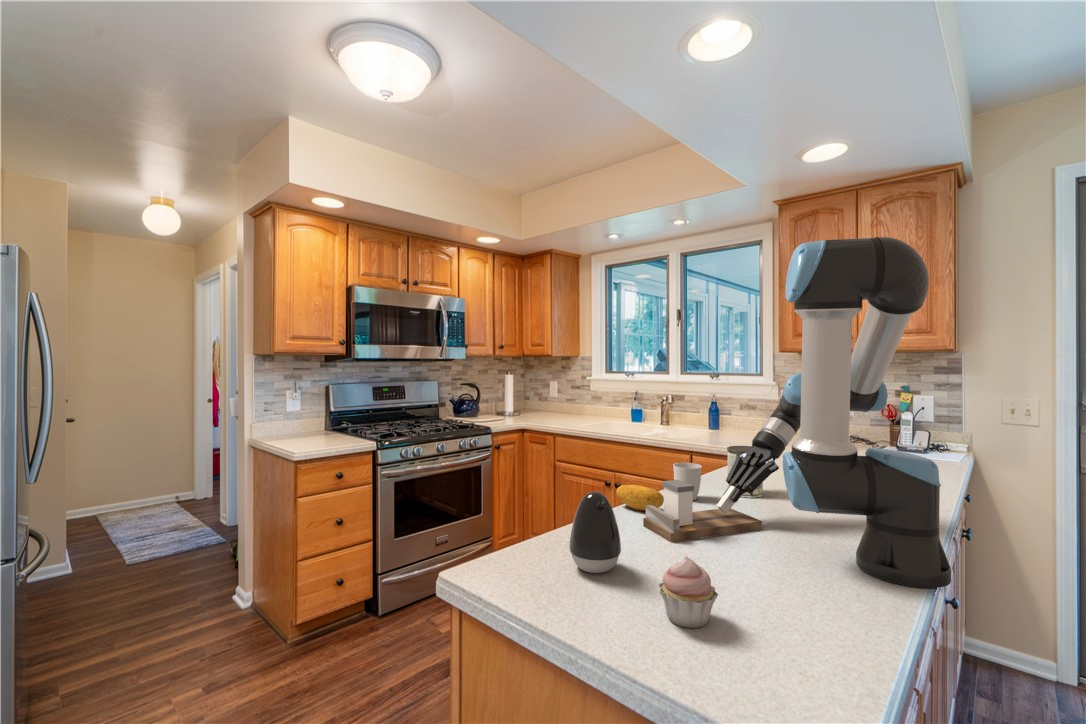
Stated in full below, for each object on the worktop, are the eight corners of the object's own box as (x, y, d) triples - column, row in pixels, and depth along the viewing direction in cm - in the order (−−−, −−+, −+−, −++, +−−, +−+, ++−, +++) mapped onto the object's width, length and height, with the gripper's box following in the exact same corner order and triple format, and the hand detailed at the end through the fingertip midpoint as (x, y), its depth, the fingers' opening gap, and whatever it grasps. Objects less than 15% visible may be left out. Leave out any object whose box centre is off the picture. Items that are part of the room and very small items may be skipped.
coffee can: (730, 488, 163) (730, 444, 163) (765, 492, 158) (765, 447, 158) (723, 495, 154) (723, 449, 154) (759, 500, 149) (759, 452, 149)
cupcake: (681, 599, 87) (681, 541, 87) (729, 621, 80) (729, 558, 80) (644, 615, 82) (644, 554, 82) (693, 641, 74) (692, 573, 74)
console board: (728, 515, 135) (728, 496, 135) (762, 529, 123) (762, 508, 123) (643, 525, 126) (643, 505, 126) (670, 542, 115) (670, 520, 115)
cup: (698, 495, 154) (698, 462, 154) (704, 503, 146) (704, 468, 146) (671, 495, 155) (671, 462, 155) (675, 502, 147) (675, 468, 147)
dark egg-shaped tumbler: (579, 582, 94) (579, 501, 94) (563, 561, 104) (562, 487, 104) (630, 576, 97) (630, 496, 97) (608, 555, 107) (608, 484, 107)
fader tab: (678, 516, 126) (678, 479, 126) (694, 524, 120) (694, 485, 120) (662, 518, 125) (662, 481, 124) (677, 526, 118) (677, 487, 118)
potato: (652, 517, 133) (652, 492, 132) (611, 507, 142) (611, 482, 142) (669, 511, 138) (669, 486, 138) (628, 501, 148) (628, 478, 148)
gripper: (801, 452, 127) (749, 526, 121) (761, 444, 139) (712, 511, 134) (784, 432, 125) (731, 507, 119) (746, 426, 137) (696, 493, 132)
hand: (721, 509), depth 126 cm, fingers closed
